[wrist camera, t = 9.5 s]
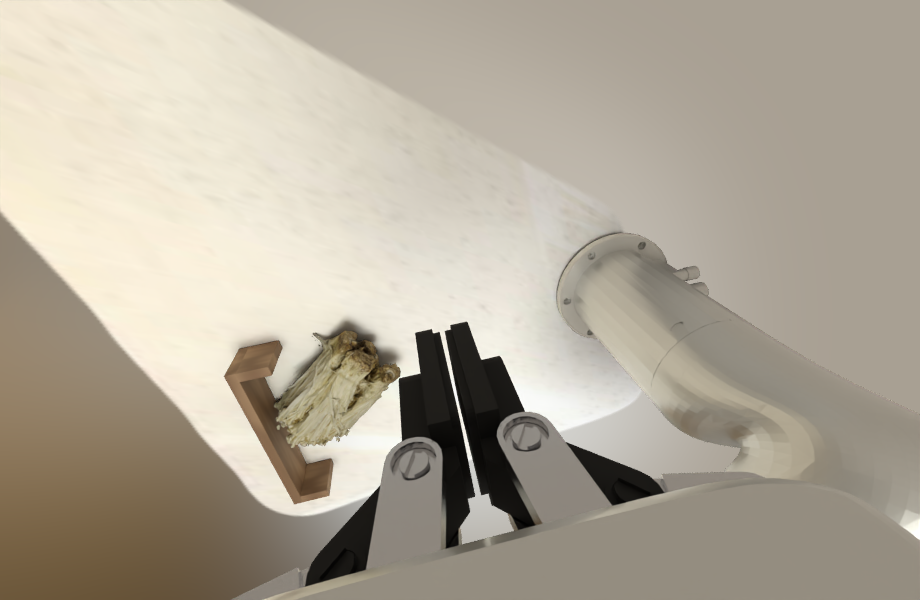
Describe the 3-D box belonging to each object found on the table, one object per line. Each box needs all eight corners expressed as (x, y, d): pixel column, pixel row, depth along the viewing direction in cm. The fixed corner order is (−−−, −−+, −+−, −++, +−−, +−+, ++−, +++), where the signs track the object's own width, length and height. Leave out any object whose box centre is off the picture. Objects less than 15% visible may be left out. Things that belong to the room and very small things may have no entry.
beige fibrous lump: (333, 309, 41) (327, 337, 37) (407, 354, 45) (410, 384, 41) (258, 401, 45) (244, 438, 40) (333, 435, 49) (328, 472, 44)
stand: (278, 340, 42) (267, 366, 38) (333, 464, 51) (329, 495, 47) (239, 348, 41) (224, 376, 37) (301, 471, 50) (294, 504, 46)
